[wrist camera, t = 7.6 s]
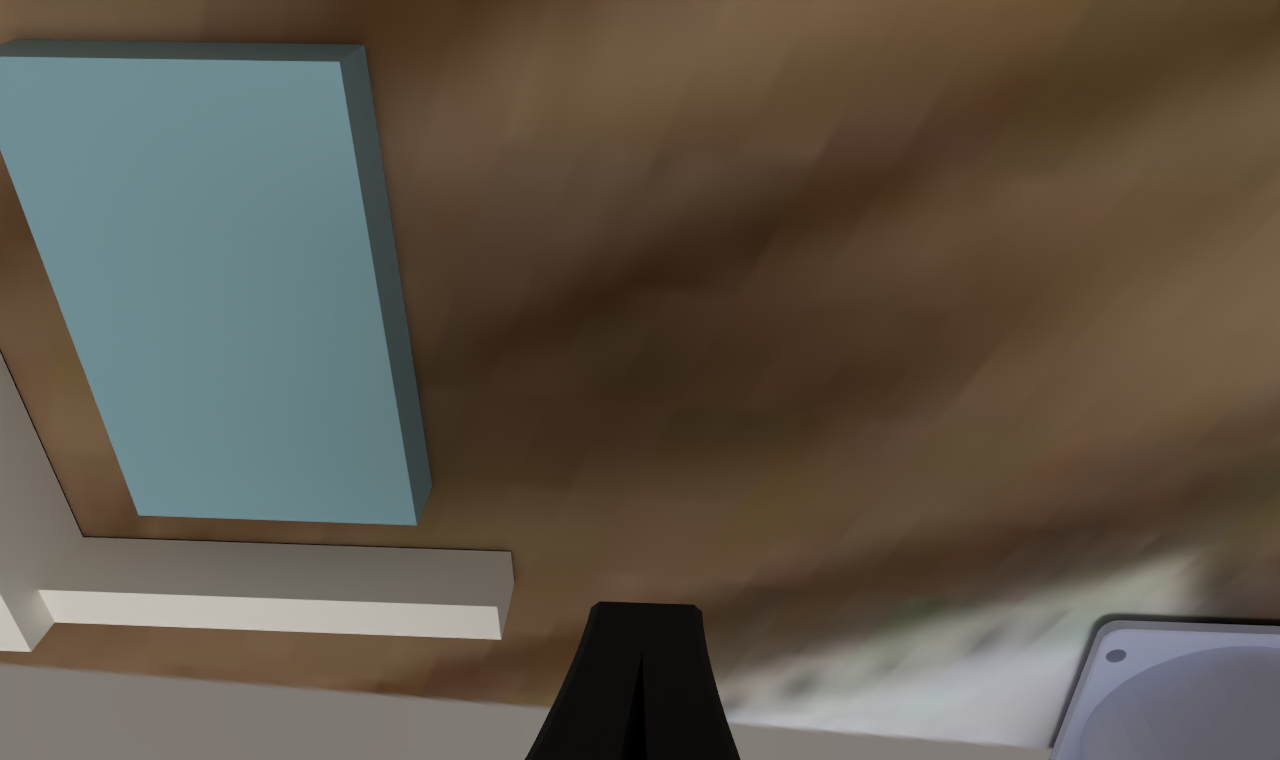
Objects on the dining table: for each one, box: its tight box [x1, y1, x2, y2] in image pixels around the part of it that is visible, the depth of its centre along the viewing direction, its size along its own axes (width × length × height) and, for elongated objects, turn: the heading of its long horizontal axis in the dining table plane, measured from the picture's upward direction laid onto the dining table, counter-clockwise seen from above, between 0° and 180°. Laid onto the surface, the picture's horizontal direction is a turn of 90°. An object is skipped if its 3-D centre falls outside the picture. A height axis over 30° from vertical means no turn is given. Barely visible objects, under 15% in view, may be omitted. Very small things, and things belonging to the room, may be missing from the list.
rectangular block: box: [0, 39, 432, 525], centre depth 20 cm, size 11×7×2 cm, turn 0°
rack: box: [0, 353, 514, 652], centre depth 19 cm, size 17×13×3 cm
